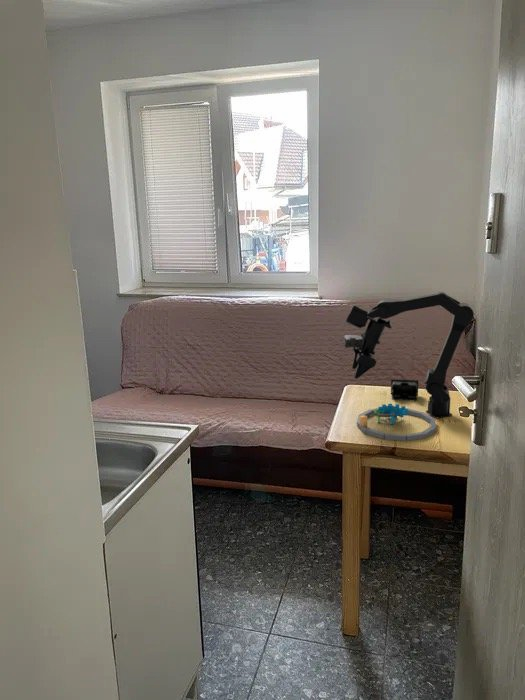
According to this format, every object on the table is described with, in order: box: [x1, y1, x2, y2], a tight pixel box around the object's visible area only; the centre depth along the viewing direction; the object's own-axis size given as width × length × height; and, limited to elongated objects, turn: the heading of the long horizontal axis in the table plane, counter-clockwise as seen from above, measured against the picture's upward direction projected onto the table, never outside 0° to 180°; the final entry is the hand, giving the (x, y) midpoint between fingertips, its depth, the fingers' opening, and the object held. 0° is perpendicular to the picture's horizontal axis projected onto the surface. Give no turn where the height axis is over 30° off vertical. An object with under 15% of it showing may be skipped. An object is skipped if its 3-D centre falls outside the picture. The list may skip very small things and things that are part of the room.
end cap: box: [390, 378, 419, 402], centre depth 204 cm, size 10×7×7 cm
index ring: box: [356, 407, 437, 442], centre depth 178 cm, size 26×25×4 cm
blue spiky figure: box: [373, 403, 409, 426], centre depth 180 cm, size 11×6×10 cm
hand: (354, 373), depth 191 cm, fingers open, 9 cm apart
